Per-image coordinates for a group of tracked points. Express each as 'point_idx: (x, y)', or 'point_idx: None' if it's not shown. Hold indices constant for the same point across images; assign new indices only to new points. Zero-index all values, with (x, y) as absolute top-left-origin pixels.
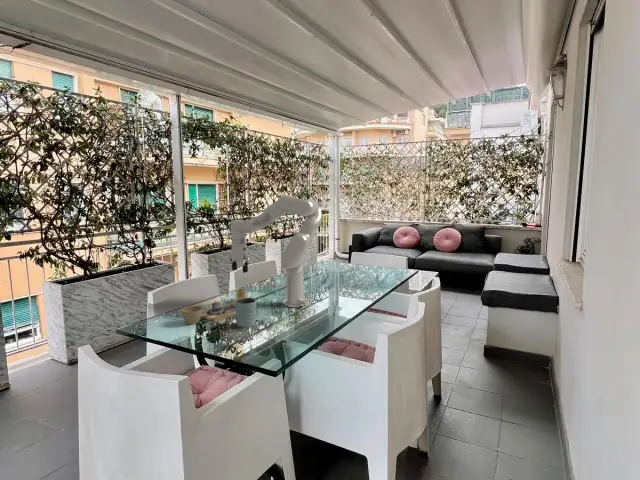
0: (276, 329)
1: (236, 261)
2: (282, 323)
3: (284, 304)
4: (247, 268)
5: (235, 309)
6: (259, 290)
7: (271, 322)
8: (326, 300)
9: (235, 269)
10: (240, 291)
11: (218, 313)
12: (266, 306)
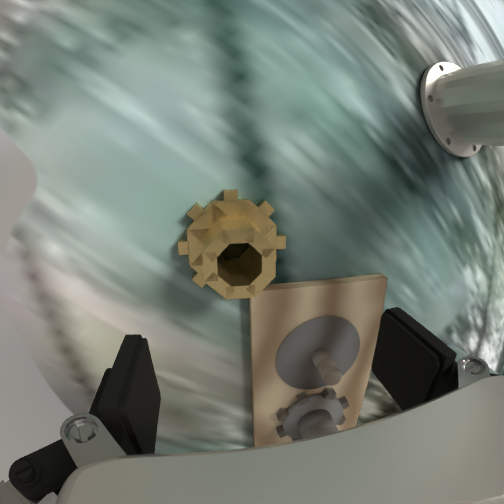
0: (499, 321)
1: (120, 449)
2: (499, 288)
3: (441, 144)
4: (421, 331)
5: (351, 358)
6: (116, 24)
7: (481, 306)
8: (473, 27)
9: (151, 367)
10: (265, 286)
11: (343, 421)
12: (396, 205)
